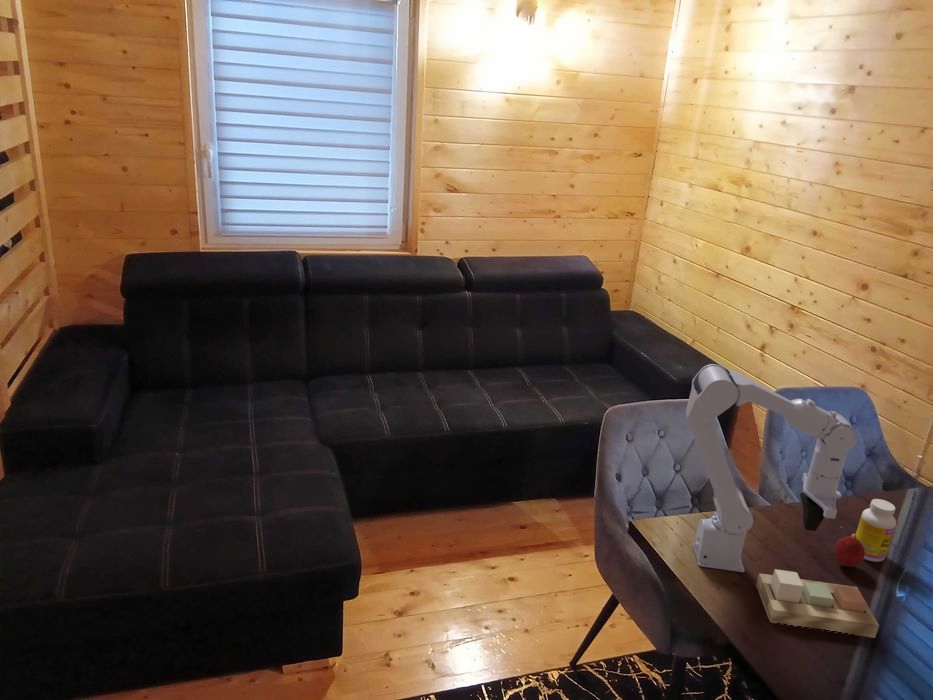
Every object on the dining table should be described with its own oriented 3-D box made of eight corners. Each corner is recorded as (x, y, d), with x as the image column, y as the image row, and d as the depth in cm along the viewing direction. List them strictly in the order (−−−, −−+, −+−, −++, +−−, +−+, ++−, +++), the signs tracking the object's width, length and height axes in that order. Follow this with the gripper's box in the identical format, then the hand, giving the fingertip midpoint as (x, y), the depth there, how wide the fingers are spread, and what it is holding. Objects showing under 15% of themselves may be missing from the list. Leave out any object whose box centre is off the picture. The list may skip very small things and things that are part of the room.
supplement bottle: (878, 567, 151) (894, 516, 147) (846, 551, 156) (861, 502, 151) (889, 555, 155) (905, 506, 151) (858, 541, 160) (872, 493, 156)
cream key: (776, 599, 134) (780, 582, 133) (770, 585, 138) (774, 569, 137) (798, 603, 134) (803, 586, 132) (792, 588, 138) (796, 572, 136)
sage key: (806, 612, 134) (810, 595, 133) (799, 598, 138) (804, 581, 137) (828, 615, 134) (833, 599, 132) (821, 601, 138) (826, 584, 136)
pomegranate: (863, 576, 148) (873, 545, 145) (834, 571, 149) (844, 540, 146) (854, 560, 153) (864, 529, 150) (827, 555, 154) (836, 524, 151)
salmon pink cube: (838, 617, 134) (843, 600, 132) (830, 602, 137) (835, 586, 136) (861, 620, 133) (866, 603, 132) (853, 605, 137) (858, 589, 136)
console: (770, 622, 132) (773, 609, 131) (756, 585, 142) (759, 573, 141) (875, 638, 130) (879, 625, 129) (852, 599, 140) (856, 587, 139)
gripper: (859, 493, 133) (842, 552, 137) (833, 457, 146) (817, 512, 151) (821, 488, 134) (805, 547, 138) (798, 453, 147) (784, 507, 152)
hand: (809, 528), depth 145 cm, fingers closed
